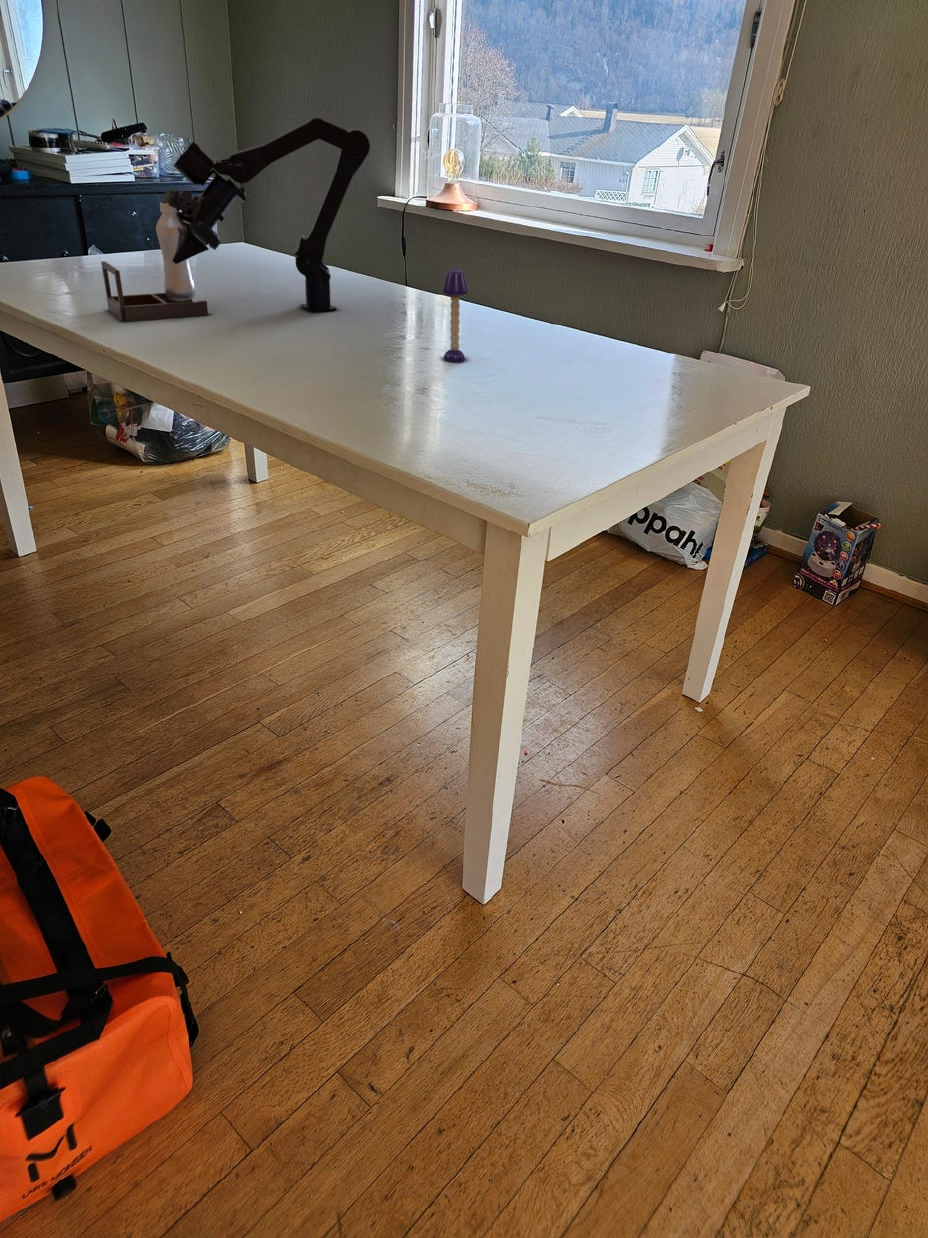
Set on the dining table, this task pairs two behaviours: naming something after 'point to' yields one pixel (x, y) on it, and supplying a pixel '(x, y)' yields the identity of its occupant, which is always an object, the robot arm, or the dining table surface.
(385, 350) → the dining table surface
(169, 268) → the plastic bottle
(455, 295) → the toy lamp
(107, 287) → the wooden divided caddy
